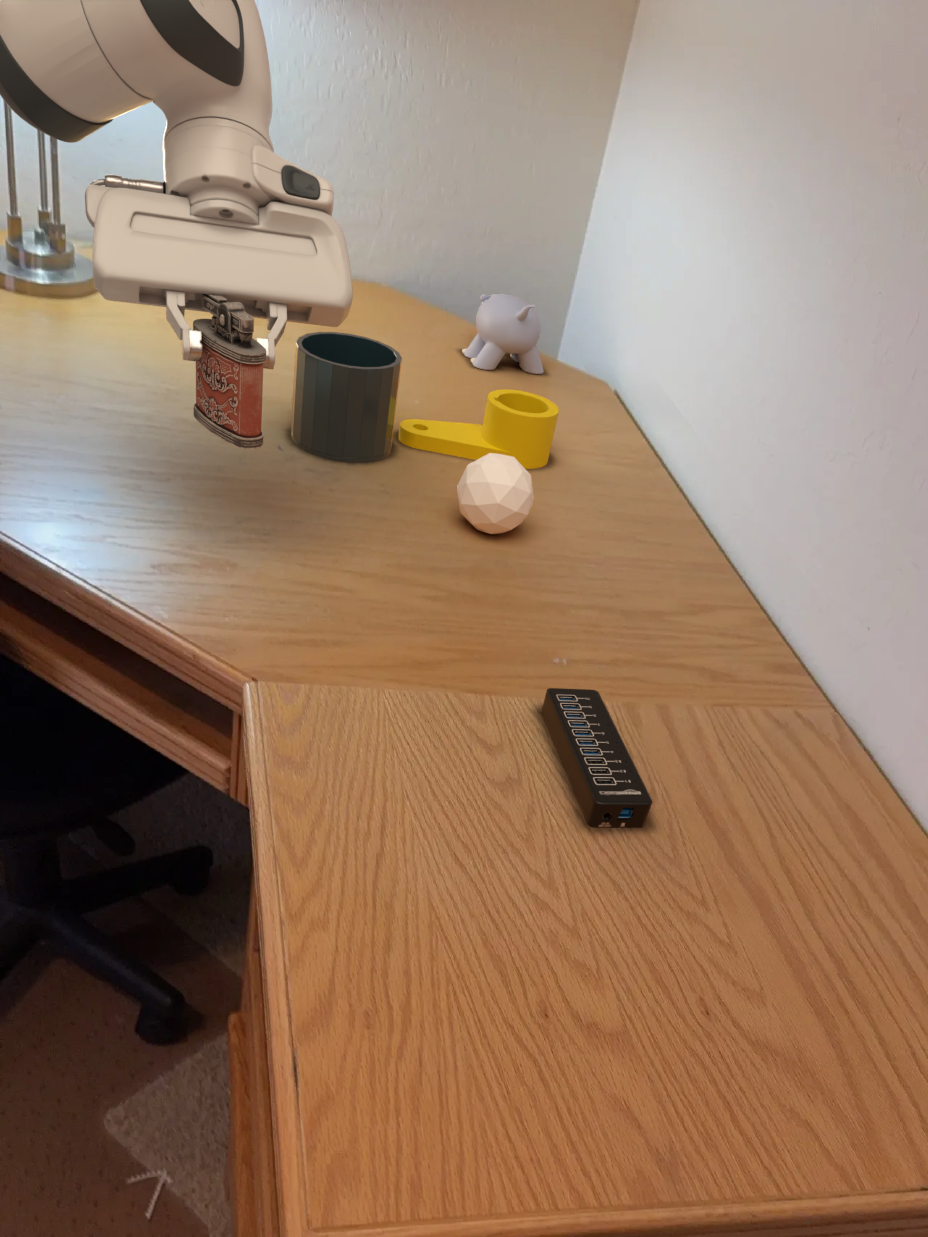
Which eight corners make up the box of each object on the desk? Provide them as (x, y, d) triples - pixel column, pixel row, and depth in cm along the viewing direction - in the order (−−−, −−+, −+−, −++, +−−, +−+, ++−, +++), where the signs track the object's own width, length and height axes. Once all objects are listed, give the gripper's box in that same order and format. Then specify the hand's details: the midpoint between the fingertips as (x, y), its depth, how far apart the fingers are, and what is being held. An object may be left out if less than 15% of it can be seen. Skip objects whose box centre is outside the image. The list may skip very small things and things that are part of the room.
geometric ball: (504, 556, 111) (558, 515, 106) (447, 537, 106) (501, 492, 100) (489, 494, 113) (542, 451, 108) (433, 472, 108) (485, 425, 102)
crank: (541, 445, 130) (552, 395, 126) (552, 472, 124) (564, 421, 120) (396, 425, 126) (402, 373, 122) (400, 452, 120) (407, 398, 116)
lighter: (272, 445, 88) (277, 317, 81) (237, 451, 86) (240, 320, 79) (219, 409, 92) (219, 283, 85) (184, 413, 90) (182, 285, 83)
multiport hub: (590, 712, 86) (597, 688, 85) (645, 828, 76) (654, 803, 75) (539, 710, 85) (545, 686, 84) (588, 828, 75) (596, 803, 73)
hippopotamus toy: (517, 345, 159) (530, 275, 153) (551, 381, 149) (566, 308, 143) (449, 338, 156) (459, 267, 149) (480, 375, 146) (492, 300, 139)
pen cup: (298, 459, 114) (304, 362, 107) (285, 419, 121) (289, 326, 115) (399, 466, 117) (411, 373, 111) (380, 427, 125) (390, 337, 118)
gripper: (81, 143, 79) (90, 325, 78) (352, 186, 85) (361, 355, 85) (85, 197, 85) (93, 367, 84) (337, 234, 91) (346, 391, 91)
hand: (229, 361), depth 85 cm, fingers closed on lighter, 4 cm apart
